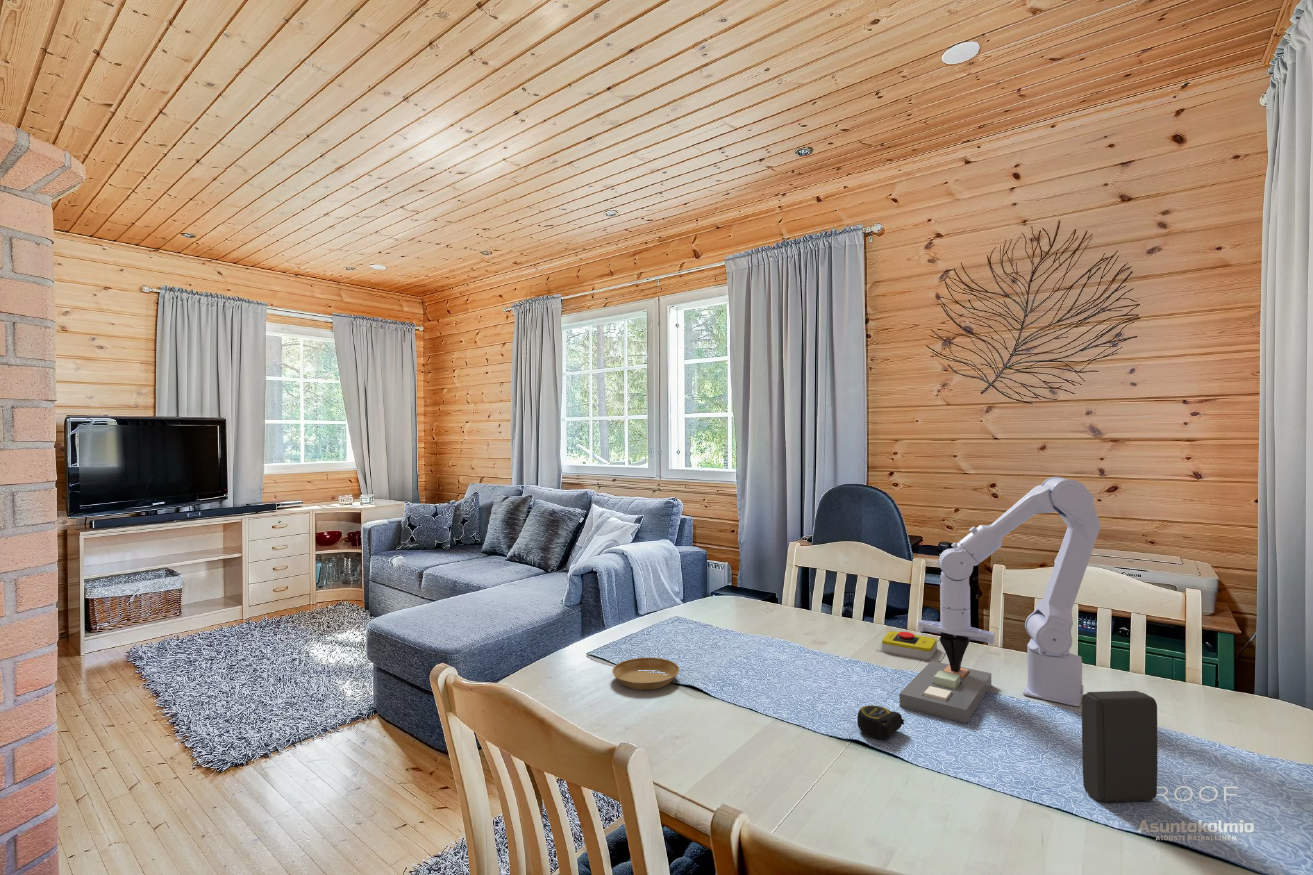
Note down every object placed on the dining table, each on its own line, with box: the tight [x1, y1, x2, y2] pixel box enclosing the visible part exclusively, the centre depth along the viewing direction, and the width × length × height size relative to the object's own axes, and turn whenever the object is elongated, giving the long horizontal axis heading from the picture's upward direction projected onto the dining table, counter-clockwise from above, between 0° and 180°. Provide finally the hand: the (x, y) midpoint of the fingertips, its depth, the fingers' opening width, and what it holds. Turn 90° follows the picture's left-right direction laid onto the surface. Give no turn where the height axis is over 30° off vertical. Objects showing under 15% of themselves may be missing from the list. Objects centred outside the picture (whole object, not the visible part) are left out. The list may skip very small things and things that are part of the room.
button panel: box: [898, 661, 992, 724], centre depth 126 cm, size 12×22×2 cm, turn 141°
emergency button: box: [875, 630, 947, 663], centre depth 152 cm, size 9×4×15 cm
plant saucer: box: [611, 657, 680, 691], centre depth 136 cm, size 15×15×3 cm
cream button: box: [924, 686, 951, 701], centre depth 121 cm, size 4×4×2 cm
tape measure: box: [856, 704, 905, 740], centre depth 111 cm, size 7×7×4 cm
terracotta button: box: [943, 664, 968, 678], centre depth 132 cm, size 4×4×2 cm
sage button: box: [934, 670, 960, 689], centre depth 126 cm, size 4×4×2 cm
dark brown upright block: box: [1081, 690, 1158, 803], centre depth 91 cm, size 9×4×15 cm, turn 92°
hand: (955, 670), depth 132 cm, fingers closed, pressing on terracotta button
